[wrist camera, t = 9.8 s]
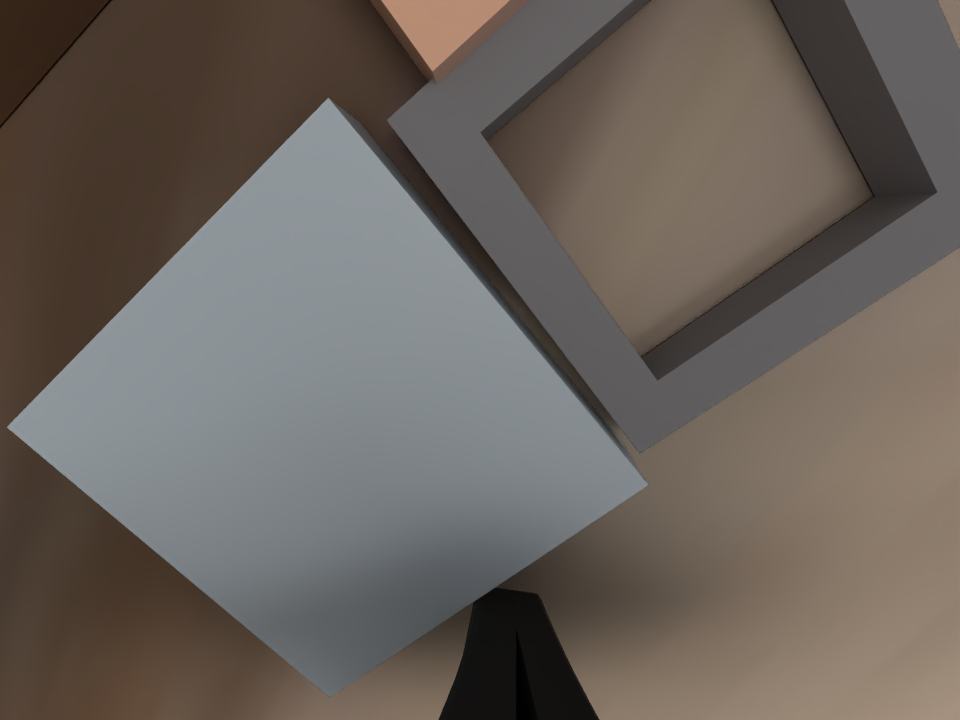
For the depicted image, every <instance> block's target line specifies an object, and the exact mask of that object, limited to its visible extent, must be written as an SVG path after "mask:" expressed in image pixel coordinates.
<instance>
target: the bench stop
mask: <svg viewBox="0 0 960 720" xmlns="http://www.w3.org/2000/svg"><path fill="white" fill-rule="evenodd" d="M108 1H109V0H0V125H1V124H2V123H3V122H4V121H5V120H6V118H7V117H8V116H9V115H10V114H11V113H12V112H13V110H14V109H15V108H16V107H17V106H18V105H19V103H20V102H21V101H22V100H23V99H24V98H25V97H26V95H27V94H28V93H29V92H30V91H31V90H32V89H33V87H34V86H35V85H36V84H37V83H38V82H39V80H40V79H41V78H42V77H43V76H44V75H45V74H46V72H47V71H48V70H49V69H50V68H51V67H52V66H53V64H54V63H55V62H56V61H57V60H58V59H59V57H60V56H61V55H62V54H63V53H64V52H65V51H66V49H67V48H68V47H69V46H70V45H71V44H72V43H73V41H74V40H75V39H76V38H77V37H78V36H79V34H80V33H81V32H82V31H83V30H84V29H85V28H86V26H87V25H88V24H89V23H90V22H91V21H92V20H93V18H94V17H95V16H96V15H97V14H98V13H99V11H100V10H101V9H102V8H103V7H104V6H105V5H106V3H107V2H108Z"/></svg>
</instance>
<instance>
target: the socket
mask: <svg viewBox="0 0 960 720" xmlns="http://www.w3.org/2000/svg"><path fill="white" fill-rule="evenodd" d="M649 1H651V0H529V1H528V2H527V3H526V4H525V5H524V6H523V7H522V8H521V9H519V10H518V11H517V12H516V13H515V14H514V15H513V16H512V17H511V18H510V19H508V20H507V21H506V22H505V23H504V24H503V25H502V26H501V27H500V28H499V29H497V30H496V31H495V32H494V33H493V34H492V35H491V36H490V37H489V38H488V39H486V40H485V41H484V42H483V43H482V44H481V45H480V46H479V47H478V48H477V49H475V50H474V51H473V52H472V53H471V54H470V55H469V56H468V57H467V58H465V59H464V60H463V61H462V62H461V63H460V64H459V65H458V66H457V67H456V68H454V69H453V70H452V71H451V72H450V73H449V74H448V75H447V76H446V77H445V78H443V79H442V80H441V81H440V82H439V83H438V84H437V83H436V82H435V81H434V79H433V78H432V79H431V80H430V81H429V82H428V83H427V84H426V85H425V86H424V87H423V88H421V89H420V90H419V91H418V92H417V93H416V94H415V95H414V96H413V97H412V98H411V99H409V100H408V101H407V102H406V103H405V104H404V105H403V106H402V107H401V108H400V109H398V110H397V111H396V112H395V113H394V114H393V115H392V116H391V117H390V118H389V119H388V120H387V121H388V123H389V124H390V125H391V126H392V128H393V129H394V130H395V132H396V133H397V134H398V136H399V137H400V138H401V140H402V141H403V142H404V144H405V145H406V146H407V148H408V149H409V150H410V151H411V153H412V154H413V155H414V157H415V158H416V159H417V161H418V162H419V163H420V165H421V166H422V167H423V169H424V170H425V171H426V173H427V174H428V175H429V177H430V178H431V179H432V180H433V182H434V183H435V184H436V186H437V187H438V188H439V190H440V191H441V192H442V194H443V195H444V196H445V198H446V199H447V200H448V202H449V203H450V204H451V206H452V207H453V208H454V209H455V211H456V212H457V213H458V215H459V216H460V217H461V219H462V220H463V221H464V223H465V224H466V225H467V227H468V228H469V229H470V231H471V232H472V233H473V235H474V236H475V237H476V238H477V240H478V241H479V242H480V244H481V245H482V246H483V248H484V249H485V250H486V252H487V253H488V254H489V256H490V257H491V258H492V260H493V261H494V262H495V264H496V265H497V266H498V267H499V269H500V270H501V271H502V273H503V274H504V275H505V277H506V278H507V279H508V281H509V282H510V283H511V285H512V286H513V287H514V289H515V290H516V291H517V292H518V294H519V295H520V296H521V298H522V299H523V300H524V302H525V303H526V304H527V306H528V307H529V308H530V310H531V311H532V312H533V314H534V315H535V316H536V318H537V319H538V320H539V321H540V323H541V324H542V325H543V327H544V328H545V329H546V331H547V332H548V333H549V335H550V336H551V337H552V339H553V340H554V341H555V343H556V344H557V345H558V347H559V348H560V349H561V350H562V352H563V353H564V354H565V356H566V357H567V358H568V360H569V361H570V362H571V364H572V365H573V366H574V368H575V369H576V370H577V372H578V373H579V374H580V376H581V377H582V378H583V379H584V381H585V382H586V383H587V385H588V386H589V387H590V389H591V390H592V391H593V393H594V394H595V395H596V397H597V398H598V399H599V401H600V402H601V403H602V405H603V406H604V407H605V408H606V410H607V411H608V412H609V414H610V415H611V416H612V418H613V419H614V420H615V422H616V423H617V424H618V426H619V427H620V428H621V430H622V431H623V432H624V434H625V435H626V436H627V437H628V439H629V440H630V441H631V443H632V444H633V445H634V447H635V448H636V449H637V451H638V452H639V453H641V452H643V451H645V450H646V449H648V448H649V447H651V446H652V445H654V444H655V443H657V442H658V441H660V440H662V439H663V438H665V437H666V436H668V435H669V434H671V433H672V432H674V431H676V430H677V429H679V428H680V427H682V426H683V425H685V424H686V423H688V422H690V421H691V420H693V419H694V418H696V417H697V416H699V415H700V414H702V413H703V412H705V411H707V410H708V409H710V408H711V407H713V406H714V405H716V404H717V403H719V402H721V401H722V400H724V399H725V398H727V397H728V396H730V395H731V394H733V393H735V392H736V391H738V390H739V389H741V388H742V387H744V386H745V385H747V384H748V383H750V382H752V381H753V380H755V379H756V378H758V377H759V376H761V375H762V374H764V373H766V372H767V371H769V370H770V369H772V368H773V367H775V366H776V365H778V364H780V363H781V362H783V361H784V360H786V359H787V358H789V357H790V356H792V355H793V354H795V353H797V352H798V351H800V350H801V349H803V348H804V347H806V346H807V345H809V344H811V343H812V342H814V341H815V340H817V339H818V338H820V337H821V336H823V335H825V334H826V333H828V332H829V331H831V330H832V329H834V328H835V327H837V326H838V325H840V324H842V323H843V322H845V321H846V320H848V319H849V318H851V317H852V316H854V315H856V314H857V313H859V312H860V311H862V310H863V309H865V308H866V307H868V306H869V305H871V304H873V303H874V302H876V301H877V300H879V299H880V298H882V297H883V296H885V295H887V294H888V293H890V292H891V291H893V290H894V289H896V288H897V287H899V286H901V285H902V284H904V283H905V282H907V281H908V280H910V279H911V278H913V277H914V276H916V275H918V274H919V273H921V272H922V271H924V270H925V269H927V268H928V267H930V266H932V265H933V264H935V263H936V262H938V261H939V260H941V259H942V258H944V257H946V256H947V255H949V254H950V253H952V252H953V251H955V250H956V249H958V248H959V247H960V50H959V48H958V46H957V43H956V41H955V39H954V37H953V34H952V32H951V30H950V27H949V25H948V23H947V21H946V18H945V16H944V14H943V12H942V9H941V7H940V5H939V2H938V0H773V2H774V4H775V6H776V8H777V9H778V11H779V13H780V15H781V17H782V19H783V21H784V23H785V25H786V27H787V29H788V31H789V33H790V34H791V36H792V38H793V40H794V42H795V44H796V46H797V48H798V50H799V52H800V54H801V56H802V57H803V59H804V61H805V63H806V65H807V67H808V69H809V71H810V73H811V75H812V77H813V79H814V80H815V82H816V84H817V86H818V88H819V90H820V92H821V94H822V96H823V98H824V100H825V102H826V103H827V105H828V107H829V109H830V111H831V113H832V115H833V117H834V119H835V121H836V123H837V125H838V126H839V128H840V130H841V132H842V134H843V136H844V138H845V140H846V142H847V144H848V146H849V148H850V149H851V151H852V153H853V155H854V157H855V159H856V161H857V163H858V165H859V167H860V169H861V171H862V172H863V174H864V176H865V178H866V180H867V182H868V184H869V186H870V188H871V190H872V192H873V194H874V196H875V197H874V198H872V199H871V200H869V201H868V202H866V203H865V204H863V205H862V206H861V207H859V208H858V209H856V210H855V211H853V212H852V213H850V214H849V215H847V216H846V217H845V218H843V219H842V220H840V221H839V222H837V223H836V224H834V225H833V226H832V227H830V228H829V229H827V230H826V231H824V232H823V233H821V234H820V235H818V236H817V237H816V238H814V239H813V240H811V241H810V242H808V243H807V244H805V245H804V246H803V247H801V248H800V249H798V250H797V251H795V252H794V253H792V254H791V255H789V256H788V257H787V258H785V259H784V260H782V261H781V262H779V263H778V264H776V265H775V266H774V267H772V268H771V269H769V270H768V271H766V272H765V273H763V274H762V275H760V276H759V277H758V278H756V279H755V280H753V281H752V282H750V283H749V284H747V285H746V286H745V287H743V288H742V289H740V290H739V291H737V292H736V293H734V294H733V295H731V296H730V297H729V298H727V299H726V300H724V301H723V302H721V303H720V304H718V305H717V306H716V307H714V308H713V309H711V310H710V311H708V312H707V313H705V314H704V315H702V316H701V317H700V318H698V319H697V320H695V321H694V322H692V323H691V324H689V325H688V326H687V327H685V328H684V329H682V330H681V331H679V332H678V333H676V334H675V335H673V336H672V337H671V338H669V339H668V340H666V341H665V342H663V343H662V344H660V345H659V346H658V347H656V348H655V349H653V350H652V351H650V352H649V353H647V354H646V355H644V356H643V357H642V358H641V357H640V356H639V354H638V353H637V351H636V350H635V349H634V347H633V346H632V344H631V343H630V342H629V340H628V339H627V337H626V336H625V335H624V333H623V332H622V330H621V329H620V328H619V326H618V325H617V323H616V322H615V320H614V319H613V318H612V316H611V315H610V313H609V312H608V311H607V309H606V308H605V306H604V305H603V304H602V302H601V301H600V299H599V298H598V297H597V295H596V294H595V292H594V291H593V290H592V288H591V287H590V285H589V284H588V283H587V281H586V280H585V278H584V277H583V276H582V274H581V273H580V271H579V270H578V269H577V267H576V266H575V264H574V263H573V262H572V260H571V259H570V257H569V256H568V255H567V253H566V252H565V250H564V249H563V248H562V246H561V245H560V243H559V242H558V241H557V239H556V238H555V236H554V235H553V234H552V232H551V231H550V229H549V228H548V227H547V225H546V224H545V222H544V221H543V220H542V218H541V217H540V215H539V214H538V213H537V211H536V210H535V208H534V207H533V206H532V204H531V203H530V201H529V200H528V199H527V197H526V196H525V194H524V193H523V192H522V190H521V189H520V187H519V186H518V185H517V183H516V182H515V180H514V179H513V178H512V176H511V175H510V173H509V172H508V171H507V169H506V168H505V166H504V165H503V164H502V162H501V161H500V159H499V158H498V157H497V155H496V154H495V152H494V151H493V150H492V148H491V147H490V145H489V144H488V143H487V140H488V139H489V138H490V137H492V136H493V135H494V134H495V133H496V132H497V131H499V130H500V129H501V128H502V127H503V126H504V125H506V124H507V123H508V122H509V121H510V120H511V119H513V118H514V117H515V116H516V115H517V114H518V113H520V112H521V111H522V110H523V109H524V108H525V107H527V106H528V105H529V104H530V103H531V102H532V101H534V100H535V99H536V98H537V97H538V96H539V95H541V94H542V93H543V92H544V91H545V90H546V89H548V88H549V87H550V86H551V85H552V84H554V83H555V82H556V81H557V80H558V79H559V78H561V77H562V76H563V75H564V74H565V73H566V72H568V71H569V70H570V69H571V68H572V67H573V66H575V65H576V64H577V63H578V62H579V61H580V60H582V59H583V58H584V57H585V56H586V55H587V54H589V53H590V52H591V51H592V50H593V49H594V48H596V47H597V46H598V45H599V44H600V43H601V42H603V41H604V40H605V39H606V38H607V37H608V36H610V35H611V34H612V33H613V32H614V31H615V30H617V29H618V28H619V27H620V26H621V25H622V24H624V23H625V22H626V21H627V20H628V19H629V18H631V17H632V16H633V15H634V14H635V13H637V12H638V11H639V10H640V9H641V8H642V7H644V6H645V5H646V4H647V3H648V2H649Z"/></svg>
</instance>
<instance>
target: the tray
mask: <svg viewBox="0 0 960 720" xmlns="http://www.w3.org/2000/svg"><path fill="white" fill-rule="evenodd" d="M528 1H529V0H370V2H371V3H372V4H373V6H374V7H375V9H376V10H377V11H378V13H379V14H380V16H381V17H382V18H383V20H384V21H385V22H386V24H387V25H388V27H389V28H390V29H391V31H392V32H393V34H394V35H395V36H396V38H397V39H398V40H399V42H400V43H401V45H402V46H403V47H404V49H405V50H406V52H407V53H408V54H409V56H410V57H411V58H412V60H413V61H414V63H415V64H416V65H417V67H418V68H419V70H420V71H421V72H422V74H423V75H424V76H425V78H426V79H427V81H428V82H429V81H430V80H431V79H432V78H433V79H434V81H435V82H436V83H437V84H438V83H439V82H440V81H441V80H442V79H443V78H445V77H446V76H447V75H448V74H449V73H450V72H451V71H452V70H453V69H454V68H456V67H457V66H458V65H459V64H460V63H461V62H462V61H463V60H464V59H465V58H467V57H468V56H469V55H470V54H471V53H472V52H473V51H474V50H475V49H477V48H478V47H479V46H480V45H481V44H482V43H483V42H484V41H485V40H486V39H488V38H489V37H490V36H491V35H492V34H493V33H494V32H495V31H496V30H497V29H499V28H500V27H501V26H502V25H503V24H504V23H505V22H506V21H507V20H508V19H510V18H511V17H512V16H513V15H514V14H515V13H516V12H517V11H518V10H519V9H521V8H522V7H523V6H524V5H525V4H526V3H527V2H528Z"/></svg>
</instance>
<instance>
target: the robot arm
mask: <svg viewBox="0 0 960 720" xmlns="http://www.w3.org/2000/svg"><path fill="white" fill-rule="evenodd" d="M439 720H599V718H598V716H597V715H596V713H595V711H594V709H593V707H592V705H591V704H590V702H589V700H588V698H587V696H586V694H585V692H584V690H583V688H582V686H581V684H580V682H579V681H578V679H577V677H576V675H575V673H574V671H573V669H572V667H571V665H570V663H569V661H568V659H567V657H566V655H565V652H564V650H563V648H562V646H561V644H560V642H559V640H558V637H557V635H556V633H555V631H554V629H553V626H552V624H551V622H550V619H549V617H548V615H547V612H546V610H545V608H544V605H543V603H542V600H541V598H540V597H539V596H538V594H535V593H528V592H522V591H515V590H508V589H502V588H494V589H492V590H491V591H489V592H488V593H486V594H485V595H483V596H482V597H480V598H479V599H477V600H476V601H474V604H473V609H472V614H471V618H470V623H469V628H468V633H467V638H466V643H465V648H464V653H463V657H462V660H461V663H460V666H459V669H458V672H457V675H456V678H455V680H454V683H453V686H452V688H451V690H450V693H449V695H448V698H447V700H446V703H445V705H444V708H443V710H442V713H441V715H440V718H439Z"/></svg>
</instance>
